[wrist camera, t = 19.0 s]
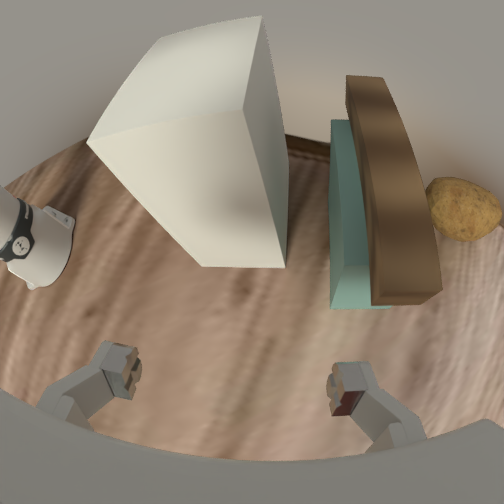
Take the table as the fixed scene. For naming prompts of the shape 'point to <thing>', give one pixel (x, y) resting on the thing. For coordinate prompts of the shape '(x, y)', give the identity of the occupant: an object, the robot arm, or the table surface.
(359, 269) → the teal box
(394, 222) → the rail
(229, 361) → the table surface
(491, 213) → the potato
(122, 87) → the stand
